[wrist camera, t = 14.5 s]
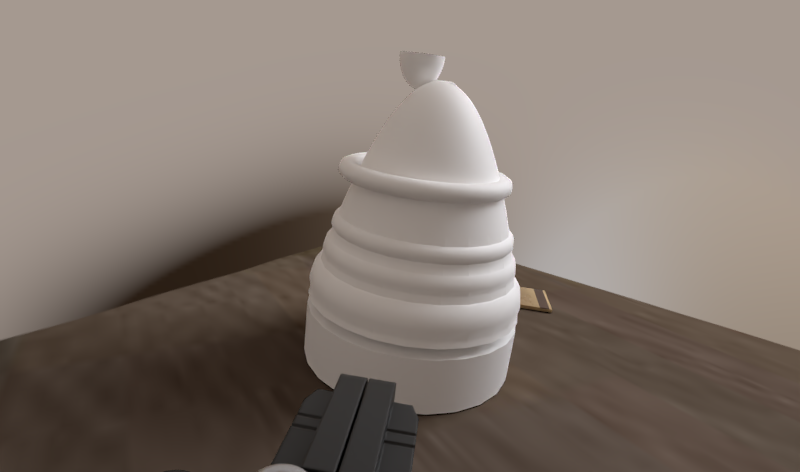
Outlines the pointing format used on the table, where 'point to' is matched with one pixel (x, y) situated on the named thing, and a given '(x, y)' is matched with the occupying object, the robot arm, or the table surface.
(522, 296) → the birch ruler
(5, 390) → the table surface
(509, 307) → the honey pot
